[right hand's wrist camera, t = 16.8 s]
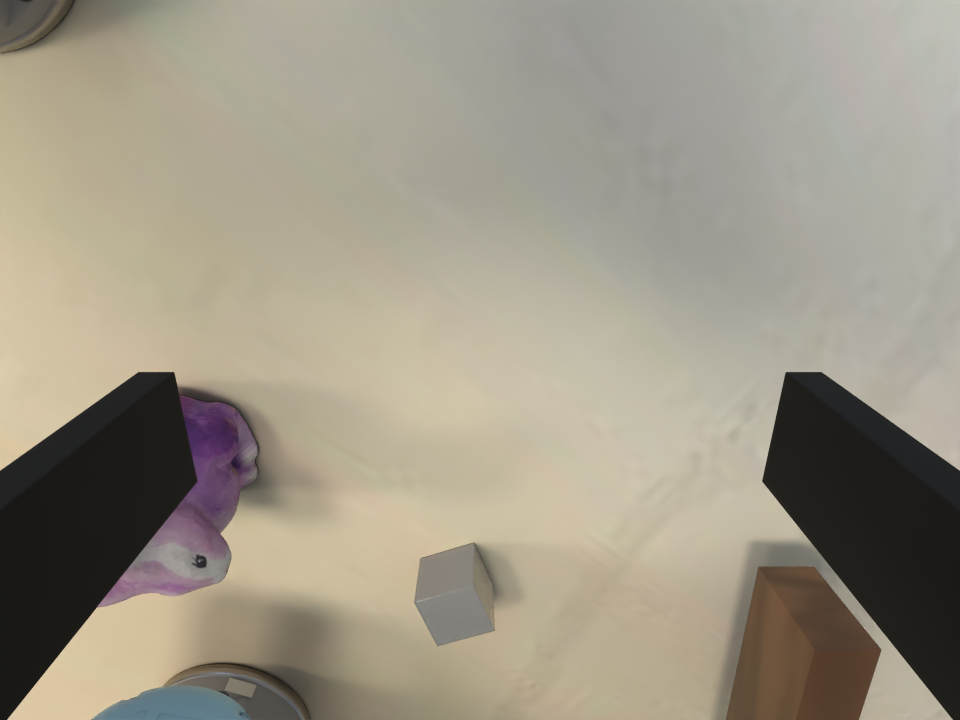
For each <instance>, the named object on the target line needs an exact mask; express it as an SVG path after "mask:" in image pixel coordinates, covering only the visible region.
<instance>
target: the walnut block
mask: <svg viewBox="0 0 960 720" xmlns="http://www.w3.org/2000/svg"><path fill="white" fill-rule="evenodd" d="M880 653H881V649H880V647H879V646H878V645H877V644H876V643H875V641H874V640H873V639H872V638H871V636H870V635H869V634H868V633H867V631H866V630H865V629H864V628H863V627H862V625H861V624H860V623H859V622H858V620H857V619H856V618H855V617H854V615H853V614H852V613H851V612H850V611H849V609H848V608H847V607H846V606H845V604H844V603H843V602H842V601H841V599H840V598H839V597H838V596H837V594H836V593H835V592H834V591H833V590H832V588H831V587H830V586H829V585H828V583H827V582H826V581H825V580H824V578H823V577H822V576H821V575H820V574H819V572H818V571H817V570H816V569H815V567H758V572H757V576H756V581H755V586H754V590H753V595H752V600H751V605H750V609H749V614H748V619H747V623H746V628H745V633H744V637H743V642H742V647H741V651H740V656H739V661H738V666H737V670H736V675H735V680H734V684H733V689H732V694H731V698H730V703H729V708H728V713H727V717H726V720H859V717H860V714H861V711H862V708H863V705H864V702H865V699H866V696H867V693H868V690H869V687H870V684H871V680H872V677H873V674H874V671H875V668H876V665H877V662H878V659H879V656H880Z"/></svg>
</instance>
